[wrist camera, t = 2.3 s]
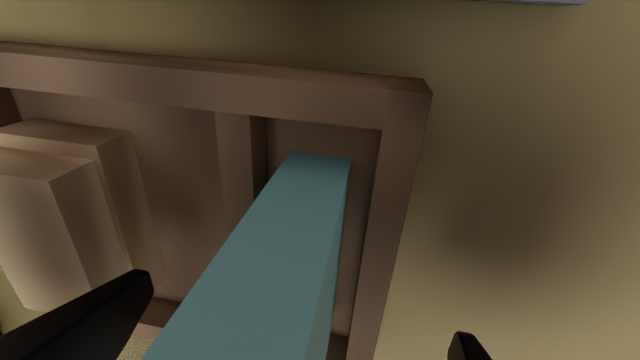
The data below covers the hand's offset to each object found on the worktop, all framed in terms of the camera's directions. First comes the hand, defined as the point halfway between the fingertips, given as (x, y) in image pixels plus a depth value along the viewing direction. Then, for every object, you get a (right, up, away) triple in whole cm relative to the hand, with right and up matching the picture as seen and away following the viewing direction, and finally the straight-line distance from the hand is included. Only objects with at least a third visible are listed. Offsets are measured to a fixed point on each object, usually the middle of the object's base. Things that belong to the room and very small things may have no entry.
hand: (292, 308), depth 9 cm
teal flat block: (+1, +1, +3) cm, 3 cm away
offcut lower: (-8, +3, +4) cm, 9 cm away
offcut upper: (-8, +2, +3) cm, 9 cm away
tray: (-3, +2, +4) cm, 6 cm away
